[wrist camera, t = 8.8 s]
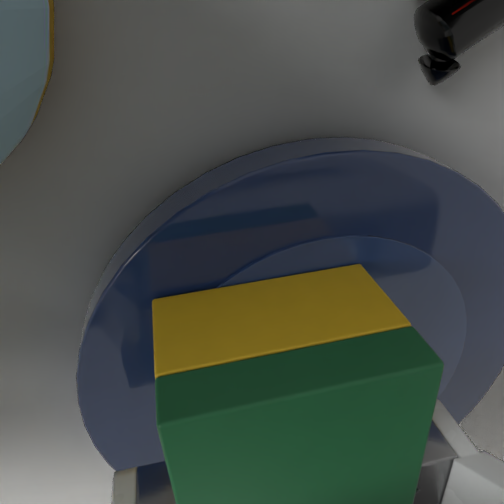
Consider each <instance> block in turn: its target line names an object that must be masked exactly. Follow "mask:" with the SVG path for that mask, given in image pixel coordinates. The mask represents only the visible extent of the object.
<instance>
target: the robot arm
mask: <svg viewBox="0 0 504 504" xmlns="http://www.w3.org/2000/svg"><path fill="white" fill-rule="evenodd" d="M111 504H176V502H175V498H174V494H173V490H172V486H171V482H170V478H169V474H168V470H167V466H166V462H165V461H162V462H157V463H153V464H148V465H143V466H139V467H133V468H129V469H125V470H120V471H116V472H115V473H114V477H113V481H112V498H111ZM413 504H504V461H502V460H500V459H498V458H497V457H495V456H493V455H491V454H490V453H488V452H486V451H482V452H479V451H478V449H477V448H476V447H475V446H474V444H473V443H472V442H471V440H470V439H469V438H468V436H467V435H466V434H465V433H464V431H463V430H462V429H461V427H460V426H459V425H458V423H457V422H456V421H455V420H454V418H453V417H452V416H451V414H450V413H449V412H448V410H447V409H446V408H445V407H444V405H443V404H442V403H441V401H440V400H438V399H437V400H436V405H435V409H434V413H433V418H432V422H431V427H430V431H429V436H428V440H427V444H426V449H425V453H424V458H423V462H422V467H421V471H420V475H419V480H418V484H417V489H416V493H415V497H414V502H413Z"/></svg>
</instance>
